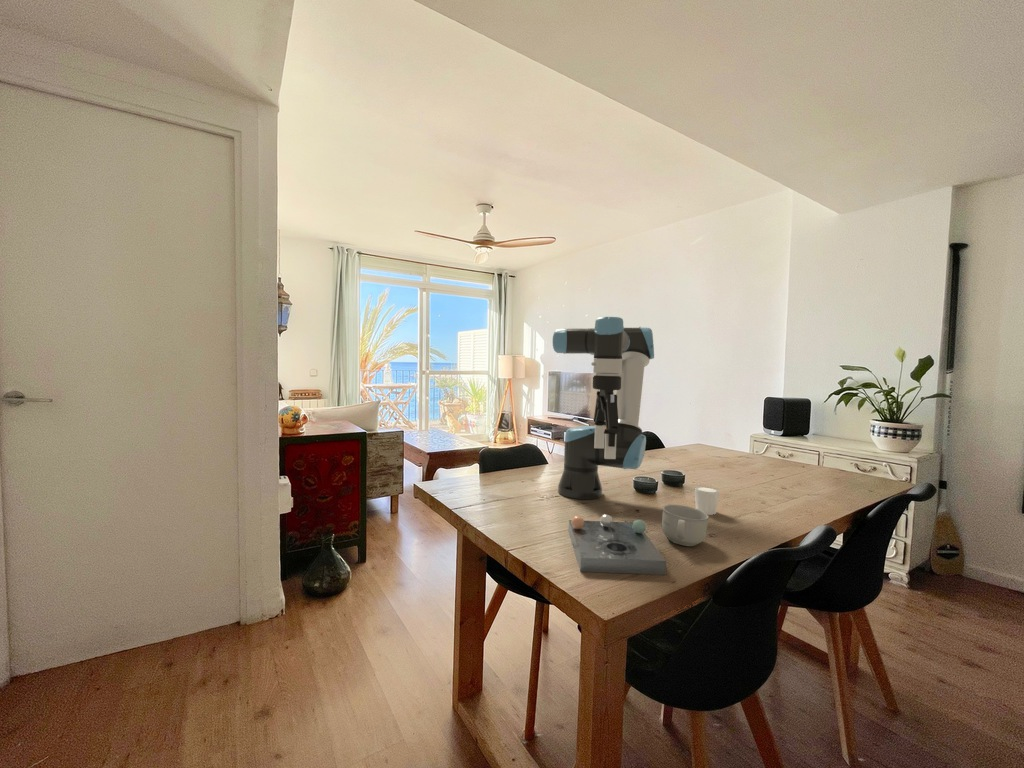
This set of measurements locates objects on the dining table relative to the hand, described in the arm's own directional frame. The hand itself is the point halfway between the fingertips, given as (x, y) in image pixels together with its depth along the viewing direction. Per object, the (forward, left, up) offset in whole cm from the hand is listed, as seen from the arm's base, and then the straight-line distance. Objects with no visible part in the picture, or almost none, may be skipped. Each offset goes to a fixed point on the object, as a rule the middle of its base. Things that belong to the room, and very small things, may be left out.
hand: (604, 453), depth 114 cm
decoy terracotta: (+10, -8, -16) cm, 20 cm away
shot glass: (-16, +36, -21) cm, 44 cm away
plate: (+15, 0, -20) cm, 25 cm away
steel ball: (+8, 0, -16) cm, 18 cm away
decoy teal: (+11, +7, -16) cm, 20 cm away
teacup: (+9, +19, -21) cm, 29 cm away
